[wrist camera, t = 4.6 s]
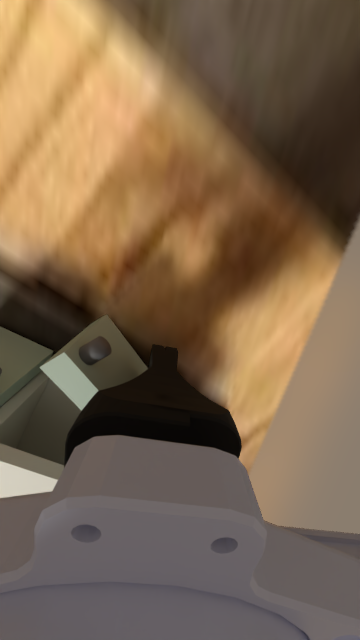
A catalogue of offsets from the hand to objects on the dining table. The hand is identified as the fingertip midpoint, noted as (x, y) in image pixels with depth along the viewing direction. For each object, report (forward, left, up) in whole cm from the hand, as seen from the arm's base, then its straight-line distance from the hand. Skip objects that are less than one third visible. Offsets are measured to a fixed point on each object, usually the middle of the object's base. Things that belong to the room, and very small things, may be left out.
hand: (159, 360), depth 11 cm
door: (-2, 0, -2) cm, 2 cm away
